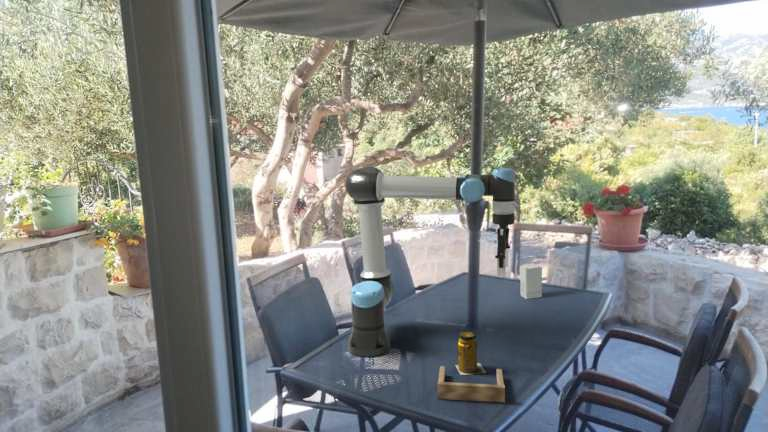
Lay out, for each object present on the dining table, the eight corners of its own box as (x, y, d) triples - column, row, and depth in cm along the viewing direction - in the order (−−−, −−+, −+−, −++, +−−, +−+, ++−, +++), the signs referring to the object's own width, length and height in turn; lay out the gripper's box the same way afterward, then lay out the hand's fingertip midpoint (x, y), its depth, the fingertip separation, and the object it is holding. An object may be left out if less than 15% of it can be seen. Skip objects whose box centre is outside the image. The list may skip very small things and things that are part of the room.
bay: (437, 398, 143) (437, 384, 143) (440, 375, 158) (440, 361, 157) (504, 402, 140) (504, 387, 140) (501, 378, 154) (501, 364, 154)
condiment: (454, 365, 164) (454, 330, 162) (479, 363, 165) (479, 329, 163) (460, 375, 157) (460, 339, 155) (486, 373, 158) (486, 337, 156)
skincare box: (535, 293, 234) (536, 263, 232) (542, 297, 228) (543, 266, 226) (519, 295, 232) (519, 264, 230) (525, 299, 226) (526, 268, 224)
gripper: (512, 218, 161) (511, 281, 165) (516, 207, 185) (515, 263, 188) (488, 218, 164) (488, 280, 167) (495, 207, 187) (495, 262, 190)
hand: (502, 271), depth 178 cm, fingers open, 13 cm apart
